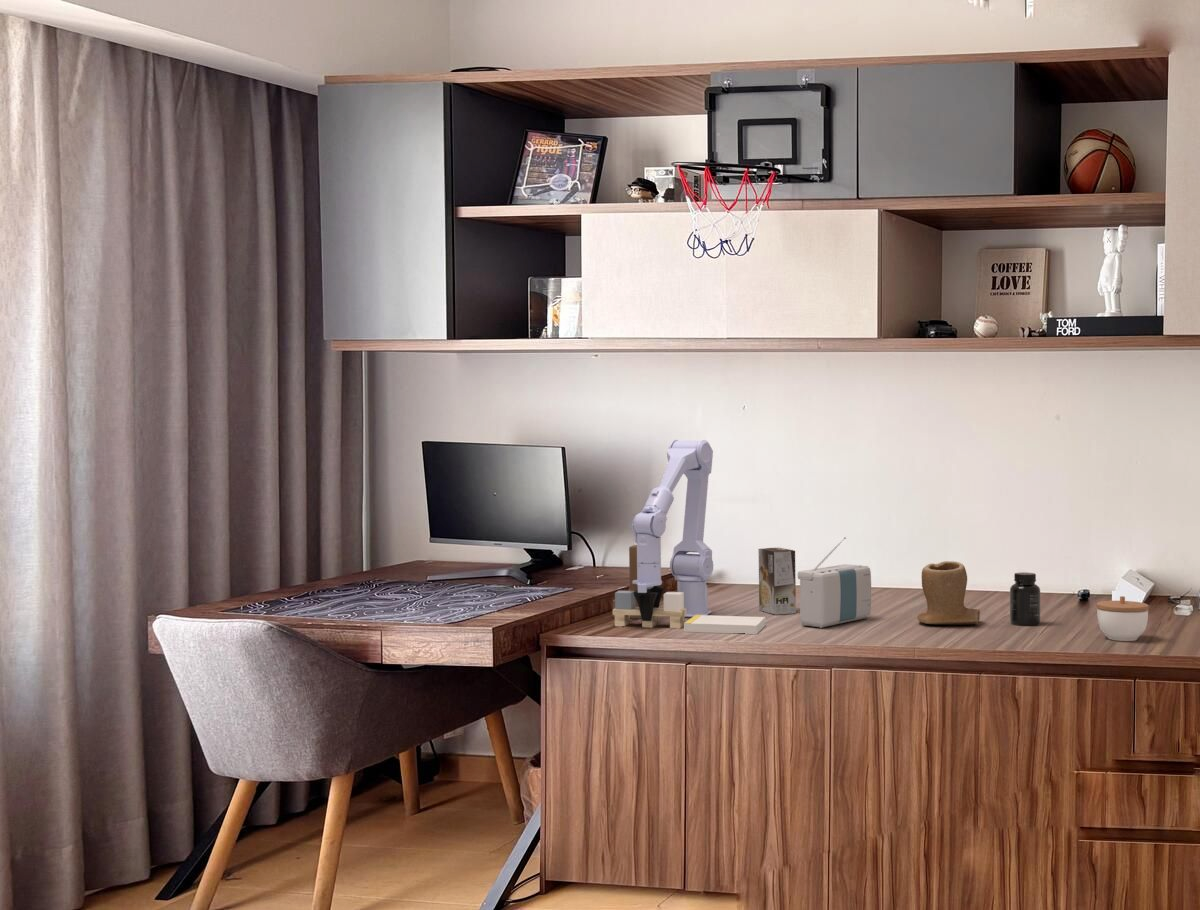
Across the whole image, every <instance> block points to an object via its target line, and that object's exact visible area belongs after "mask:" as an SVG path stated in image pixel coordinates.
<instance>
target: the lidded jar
mask: <svg viewBox="0 0 1200 910" xmlns="http://www.w3.org/2000/svg"><path fill="white" fill-rule="evenodd" d="M1149 607H1150V606H1149V604H1147V603H1145V602H1141V601H1132V600H1126V597H1125V596H1119V600H1103V601H1101V600H1100V601H1098V602H1096V611H1097V612H1096V616H1097V622H1098V626H1099V628H1100V630H1101V632H1102V633H1103V634H1104V636H1106V637H1107V639H1108V640H1111V641H1116V642H1133V641H1134V642H1135V641H1137V640H1138V638H1140V636H1142V635H1143V634H1144V632H1145V630H1146V628H1147V625H1148V620H1149V619H1148V618H1149Z"/></svg>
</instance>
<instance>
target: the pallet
mask: <svg viewBox="0 0 1200 910" xmlns="http://www.w3.org/2000/svg"><path fill="white" fill-rule="evenodd" d="M685 614H686V609H683V610H682V611H664V607H659V608H653V614H652V619H651V621H642V620H641V621H642V622H641V626H642V627H641V628H653V627H655V626H657V625H658V617H669V629H681V628H684V623H685V617H684V615H685ZM613 615H615V618H614V627H622V626H625V627H626V626H628V625H630V624H629V623H631V618H630V615H641V614H640V609H639V607H635V608H634V609H632V610H620V609H613V608H612V616H613Z"/></svg>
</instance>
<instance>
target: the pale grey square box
mask: <svg viewBox="0 0 1200 910" xmlns="http://www.w3.org/2000/svg"><path fill="white" fill-rule="evenodd" d="M633 592H634V591H628V590H617V591H616V592H614V599H615V609H620V610H632V609H634V608H635V596H634V594H633Z"/></svg>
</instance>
